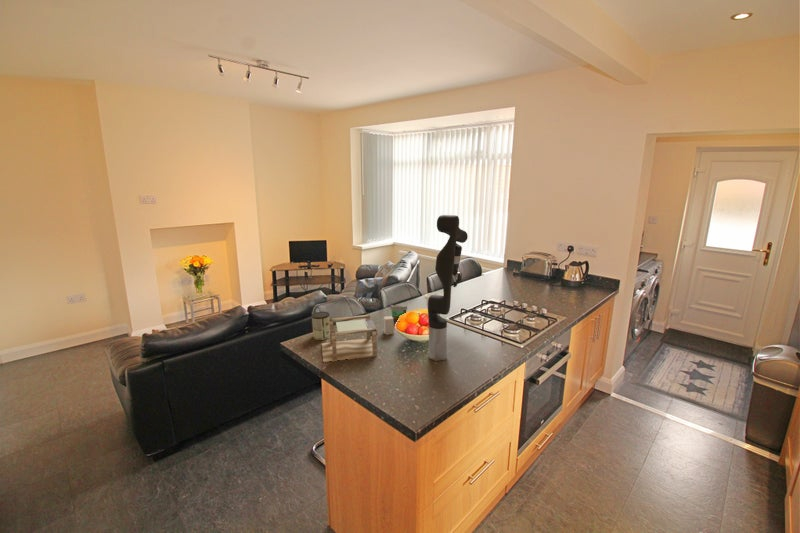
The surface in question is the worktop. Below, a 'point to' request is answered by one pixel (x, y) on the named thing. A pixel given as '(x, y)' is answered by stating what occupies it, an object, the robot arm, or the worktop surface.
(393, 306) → the food container
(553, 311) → the worktop surface
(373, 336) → the trapdoor frame
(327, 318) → the coffee can
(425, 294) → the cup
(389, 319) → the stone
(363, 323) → the trapdoor
